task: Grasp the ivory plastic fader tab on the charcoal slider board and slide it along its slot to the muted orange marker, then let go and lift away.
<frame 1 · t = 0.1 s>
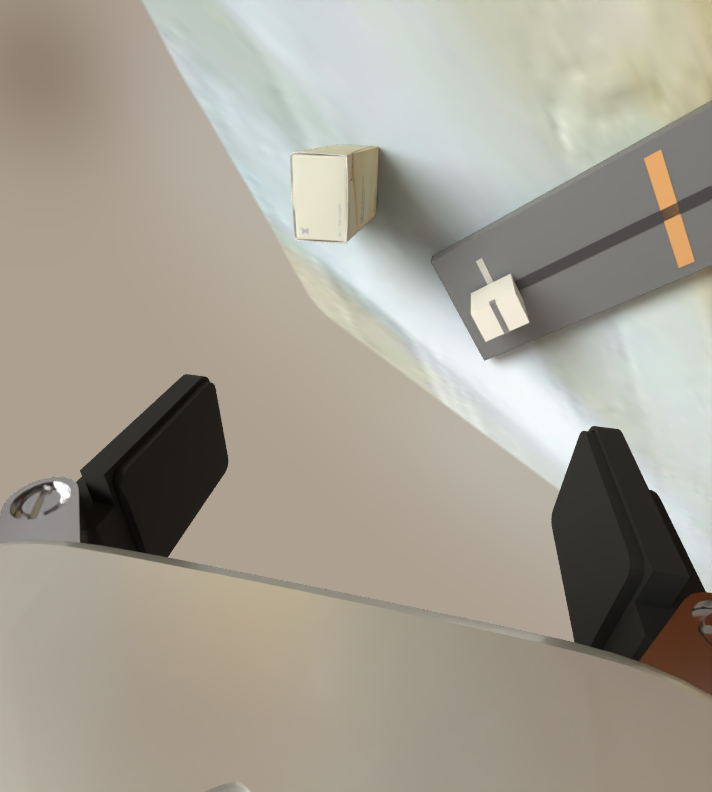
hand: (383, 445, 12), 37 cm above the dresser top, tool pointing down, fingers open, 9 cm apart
skincare box: (355, 179, 43), on the dresser top
fader board: (577, 248, 42), on the dresser top
fader tab: (498, 307, 41), point 5 cm above the dresser top, slide at -8.0 cm
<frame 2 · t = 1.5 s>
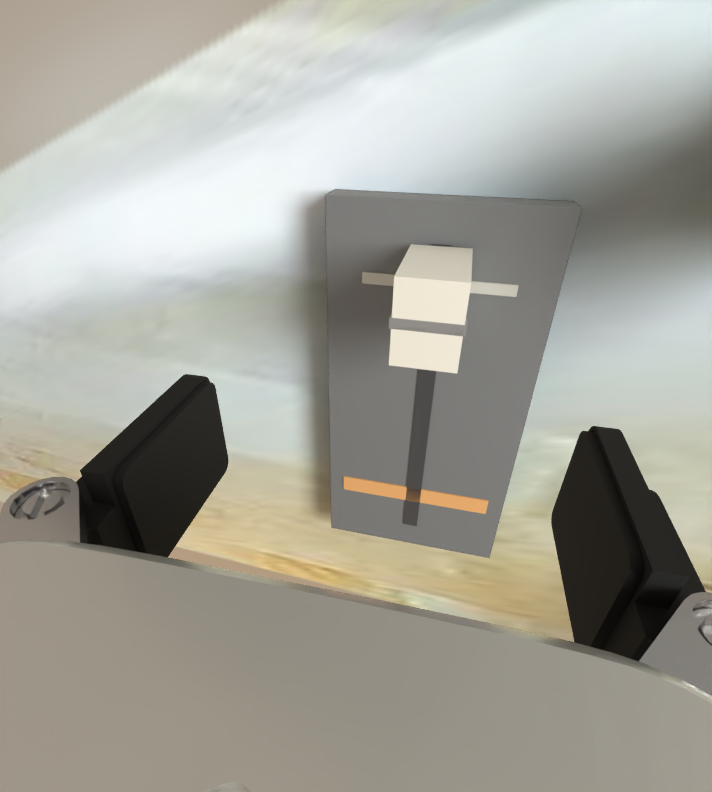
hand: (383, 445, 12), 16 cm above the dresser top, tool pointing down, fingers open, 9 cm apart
fader board: (426, 394, 29), on the dresser top
fader tab: (432, 304, 21), point 5 cm above the dresser top, slide at -8.0 cm
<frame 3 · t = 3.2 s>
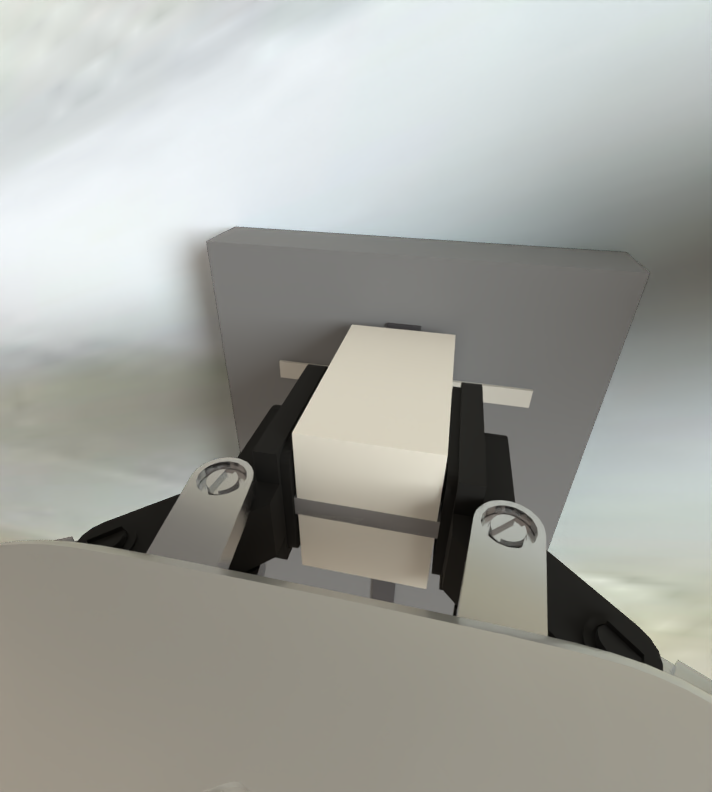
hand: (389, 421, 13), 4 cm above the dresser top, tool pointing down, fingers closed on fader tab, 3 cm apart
fader board: (393, 512, 20), on the dresser top
fader tab: (384, 441, 12), point 5 cm above the dresser top, slide at -8.0 cm, touching gripper
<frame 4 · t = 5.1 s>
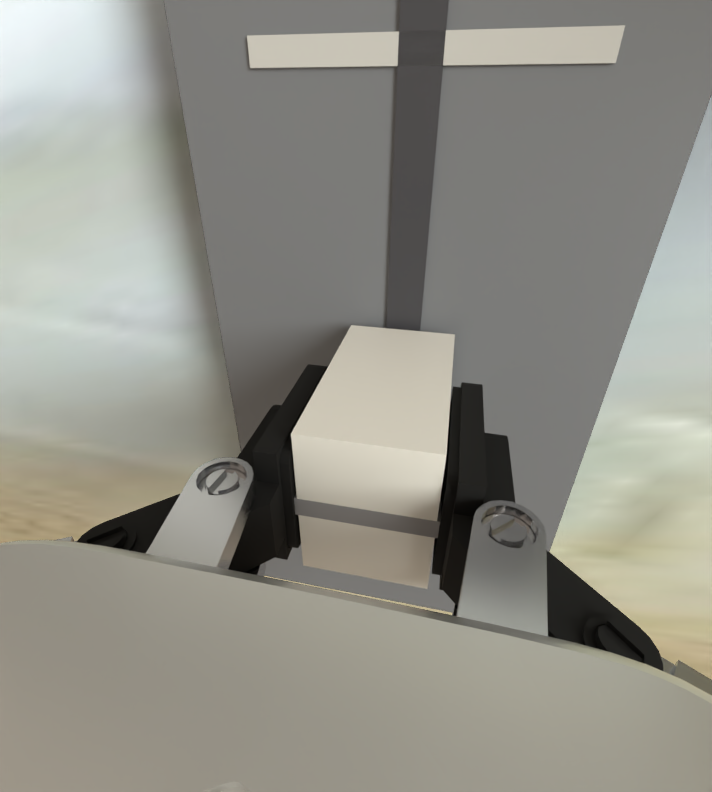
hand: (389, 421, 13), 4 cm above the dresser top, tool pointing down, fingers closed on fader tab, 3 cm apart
fader board: (408, 342, 16), on the dresser top
fader tab: (384, 441, 12), point 5 cm above the dresser top, slide at 0.5 cm, touching gripper
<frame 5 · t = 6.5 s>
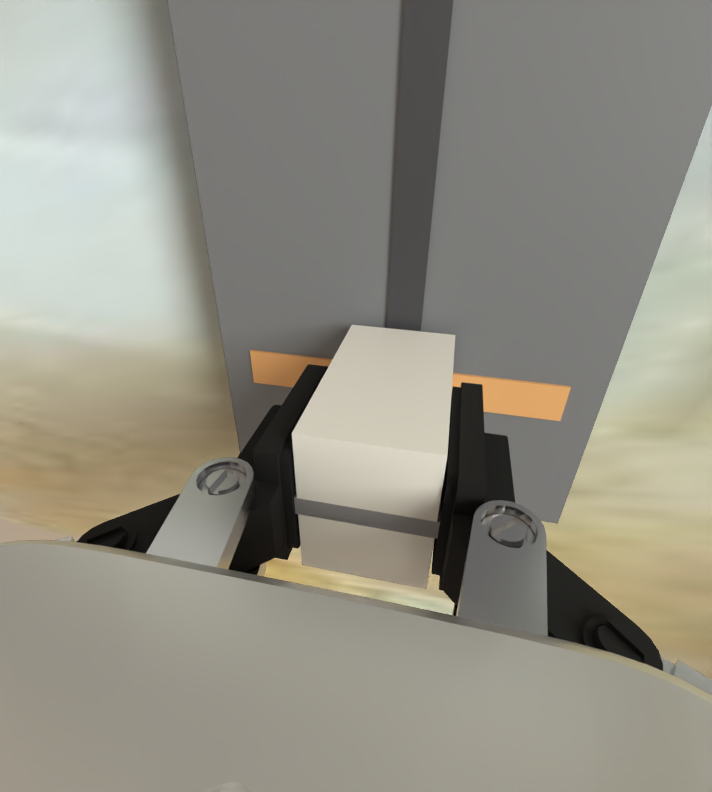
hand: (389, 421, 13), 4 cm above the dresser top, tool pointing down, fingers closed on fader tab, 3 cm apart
fader board: (426, 126, 12), on the dresser top
fader tab: (384, 441, 12), point 5 cm above the dresser top, slide at 7.0 cm, touching gripper
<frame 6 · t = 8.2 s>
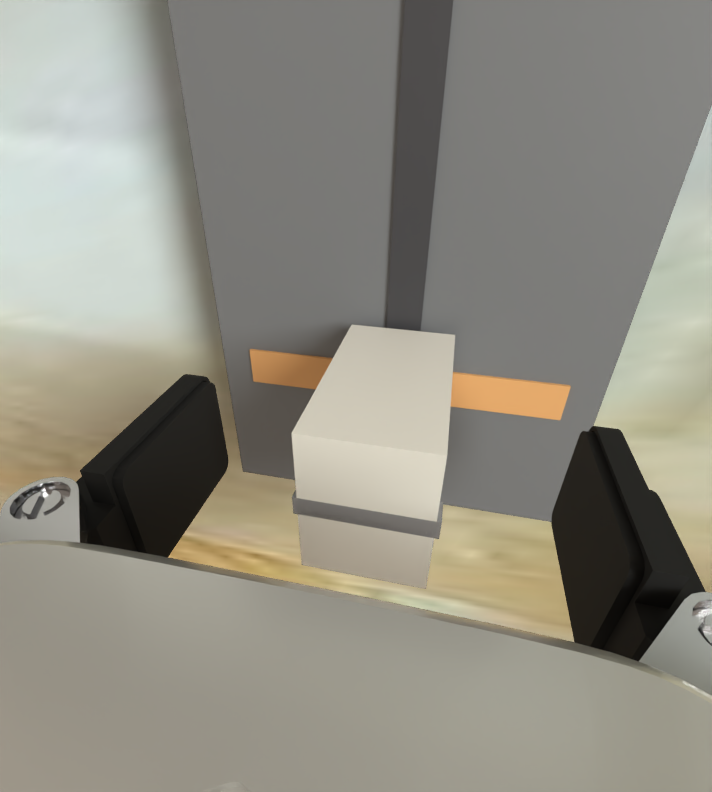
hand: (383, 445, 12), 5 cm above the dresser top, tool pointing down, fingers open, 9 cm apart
fader board: (426, 125, 12), on the dresser top
fader tab: (384, 441, 12), point 5 cm above the dresser top, slide at 7.0 cm
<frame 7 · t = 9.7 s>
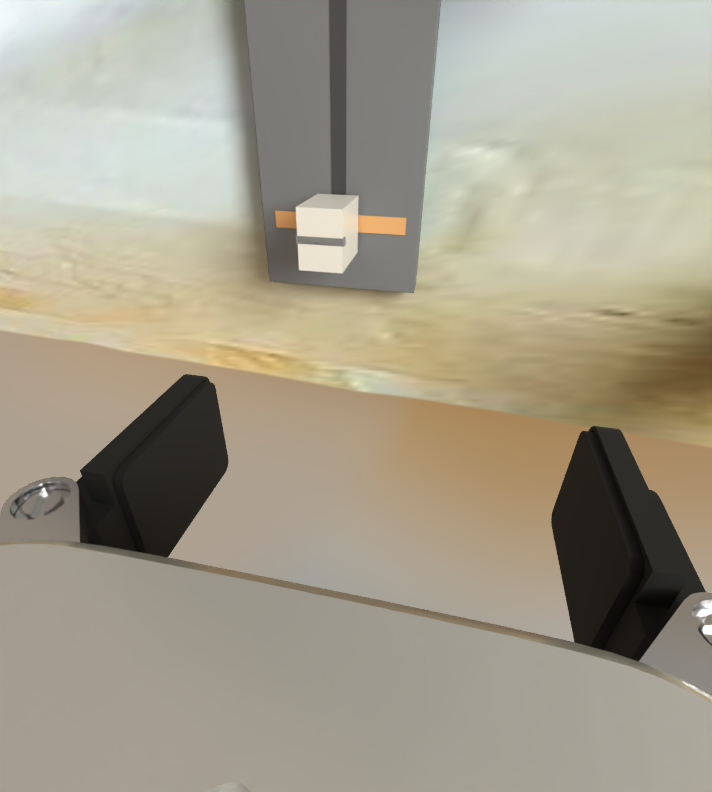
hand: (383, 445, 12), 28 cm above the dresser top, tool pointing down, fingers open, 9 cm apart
fader board: (345, 112, 32), on the dresser top
fader tab: (329, 231, 31), point 5 cm above the dresser top, slide at 7.0 cm
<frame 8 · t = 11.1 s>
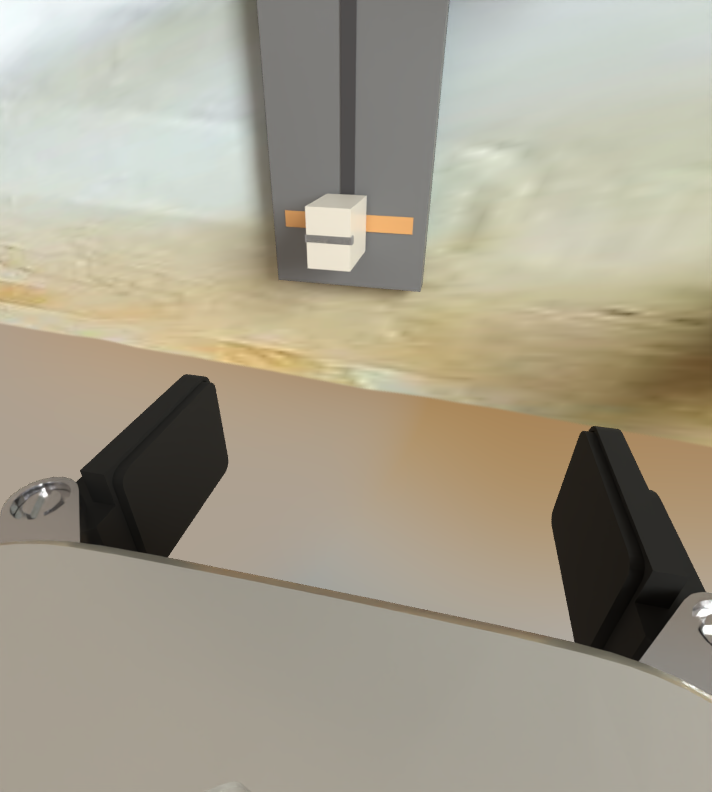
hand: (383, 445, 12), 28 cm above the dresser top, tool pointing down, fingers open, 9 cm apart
fader board: (354, 114, 32), on the dresser top
fader tab: (338, 230, 32), point 5 cm above the dresser top, slide at 7.0 cm
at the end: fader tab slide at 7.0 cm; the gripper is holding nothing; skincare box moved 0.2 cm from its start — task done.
